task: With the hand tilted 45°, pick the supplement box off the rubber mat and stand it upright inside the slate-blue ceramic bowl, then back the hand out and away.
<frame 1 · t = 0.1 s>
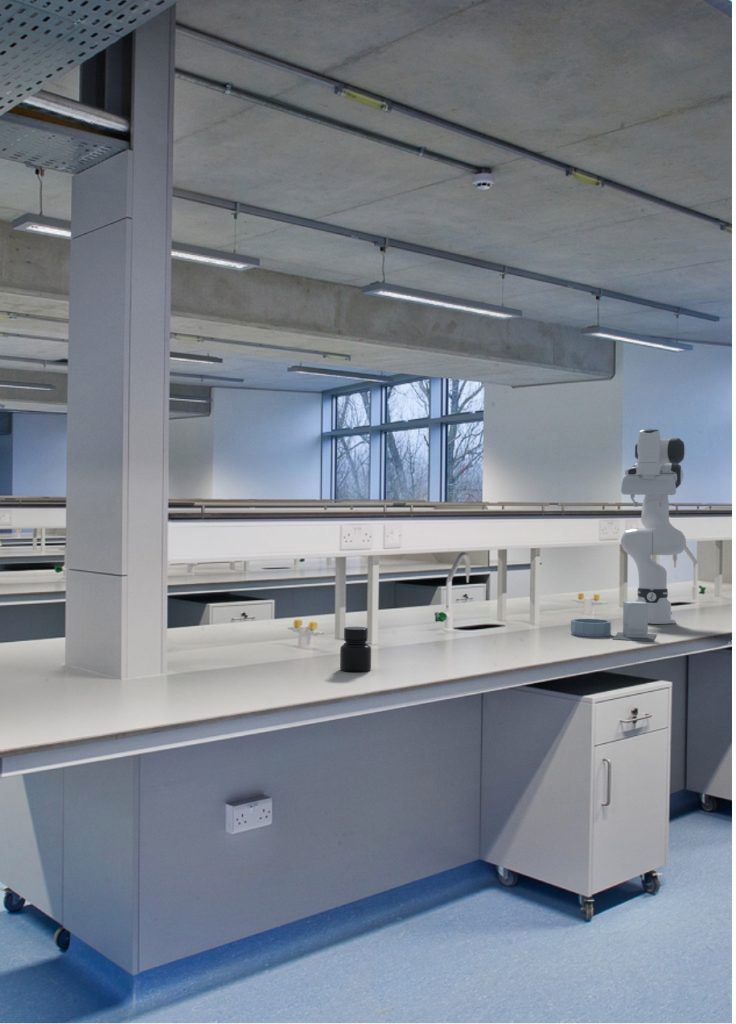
hand: (648, 506, 360), 48 cm above the worktop, tool pointing down, fingers open, 8 cm apart
ink bottle: (355, 670, 267), on the worktop
mat: (635, 637, 343), on the worktop
bowl: (590, 634, 349), on the worktop
supplement box: (635, 637, 343), resting on mat
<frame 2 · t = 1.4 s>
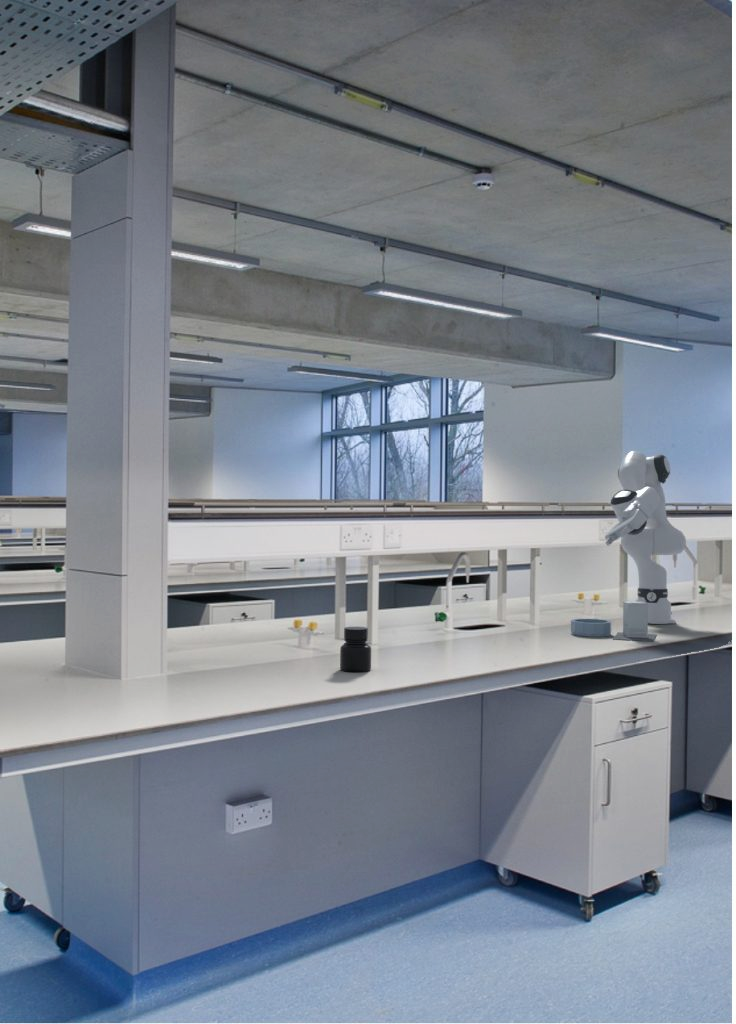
hand: (614, 539, 352), 35 cm above the worktop, tool tilted 55°, fingers open, 8 cm apart
nothing on the worktop moved.
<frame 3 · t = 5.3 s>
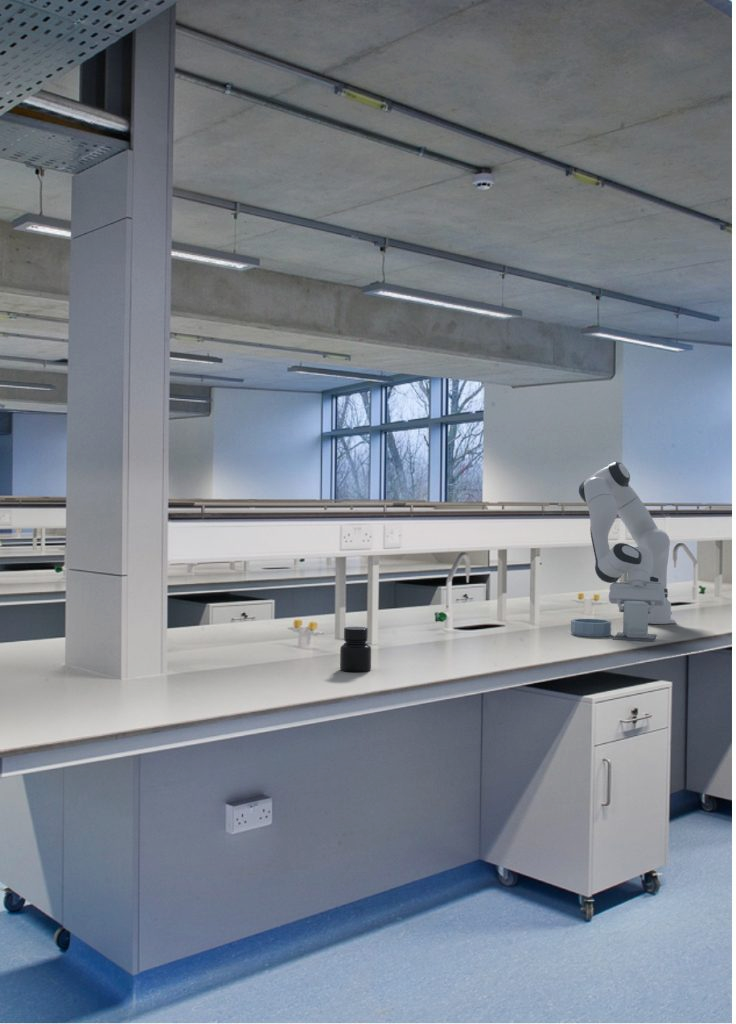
hand: (634, 611, 344), 9 cm above the worktop, tool tilted 45°, fingers open, 8 cm apart
supplement box: (635, 636, 343), resting on mat, touching gripper
everything else where it was.
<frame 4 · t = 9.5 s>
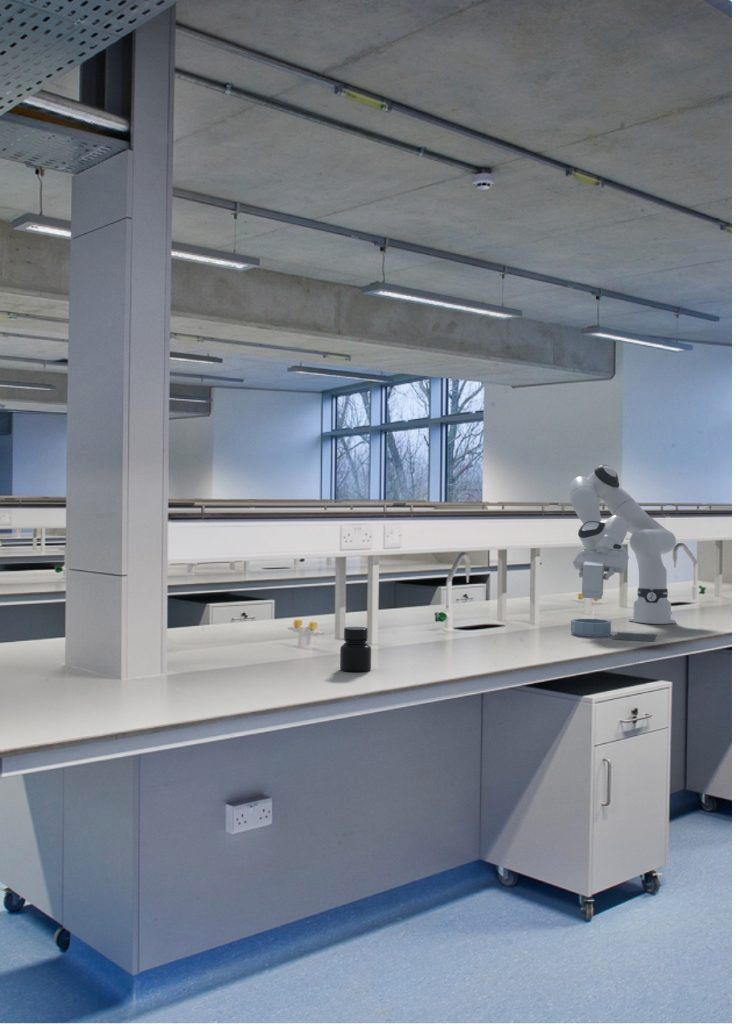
hand: (592, 577, 348), 21 cm above the worktop, tool tilted 45°, fingers closed on supplement box, 8 cm apart
supplement box: (592, 597, 349), point 14 cm above the worktop, touching gripper
everything else where it was.
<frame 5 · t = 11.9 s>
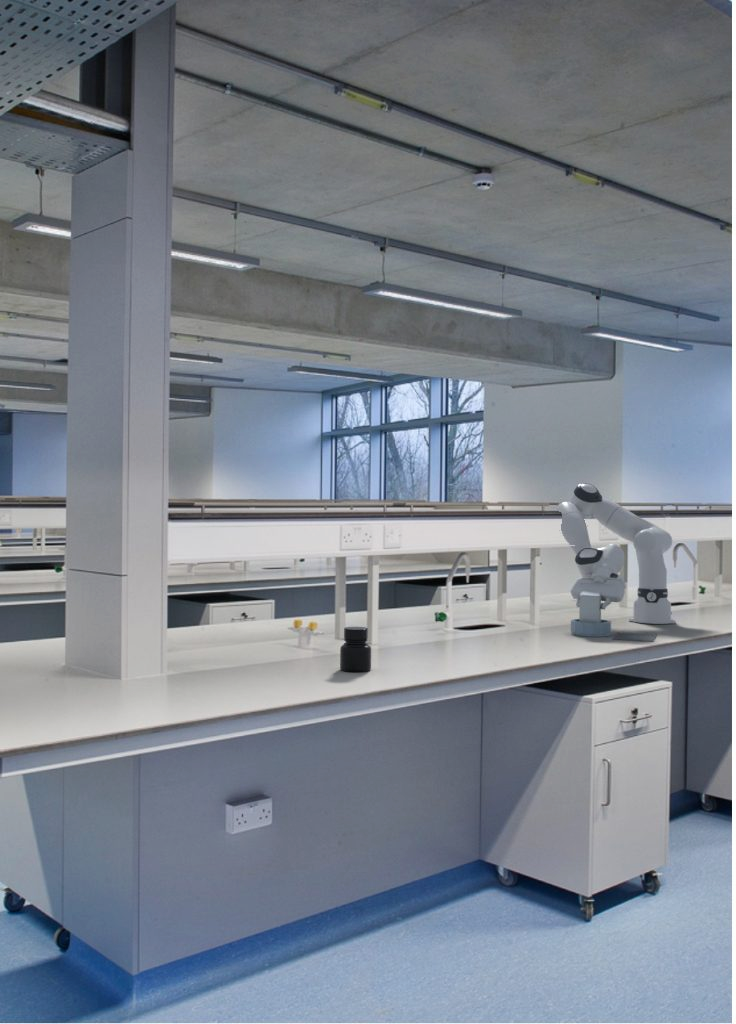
hand: (590, 607, 349), 10 cm above the worktop, tool tilted 45°, fingers closed on supplement box, 8 cm apart
supplement box: (590, 626, 349), point 3 cm above the worktop, touching gripper
everything else where it was.
when the fingers open (10 cm above the worktop, at t = 13.7 s): supplement box drops 2 cm, resting on bowl.
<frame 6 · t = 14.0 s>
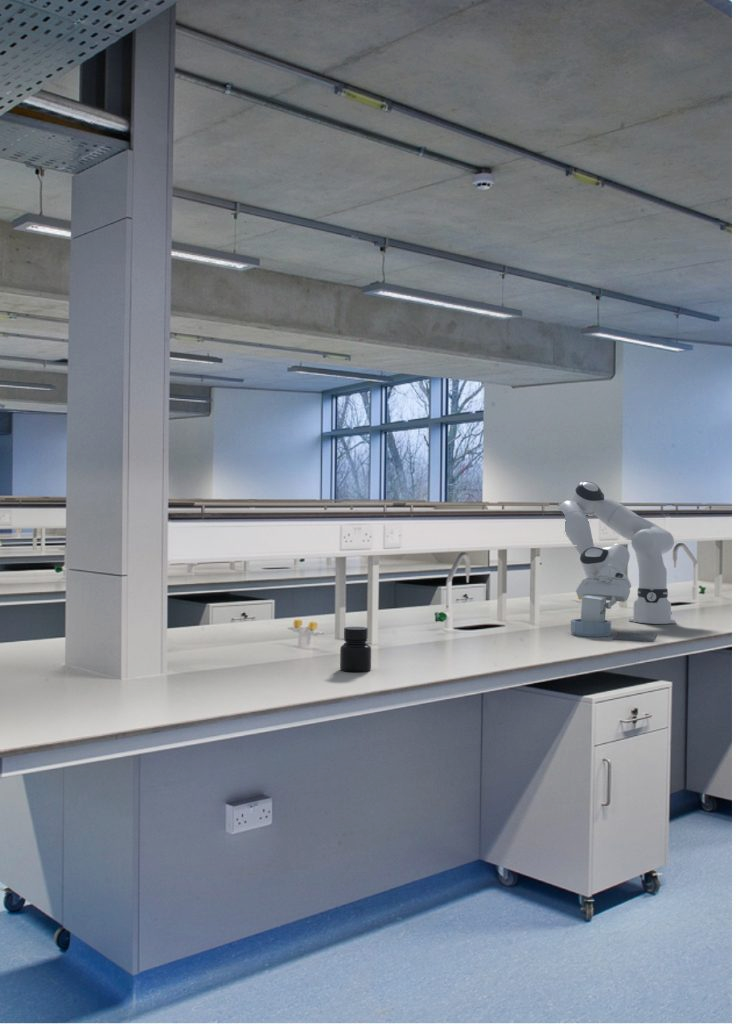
hand: (595, 606, 351), 10 cm above the worktop, tool tilted 45°, fingers open, 8 cm apart
supplement box: (592, 630, 350), point 1 cm above the worktop, touching bowl, gripper
everything else where it was.
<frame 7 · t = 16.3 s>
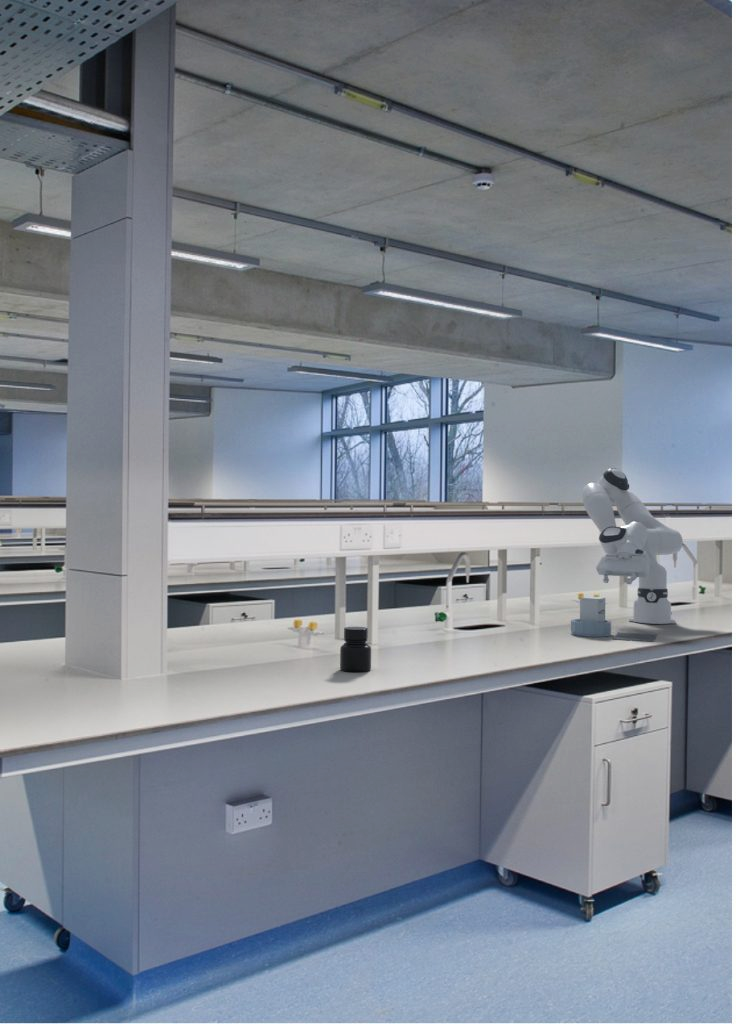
hand: (616, 582, 358), 19 cm above the worktop, tool tilted 45°, fingers open, 8 cm apart
supplement box: (592, 631, 350), point 1 cm above the worktop, touching bowl
everything else where it was.
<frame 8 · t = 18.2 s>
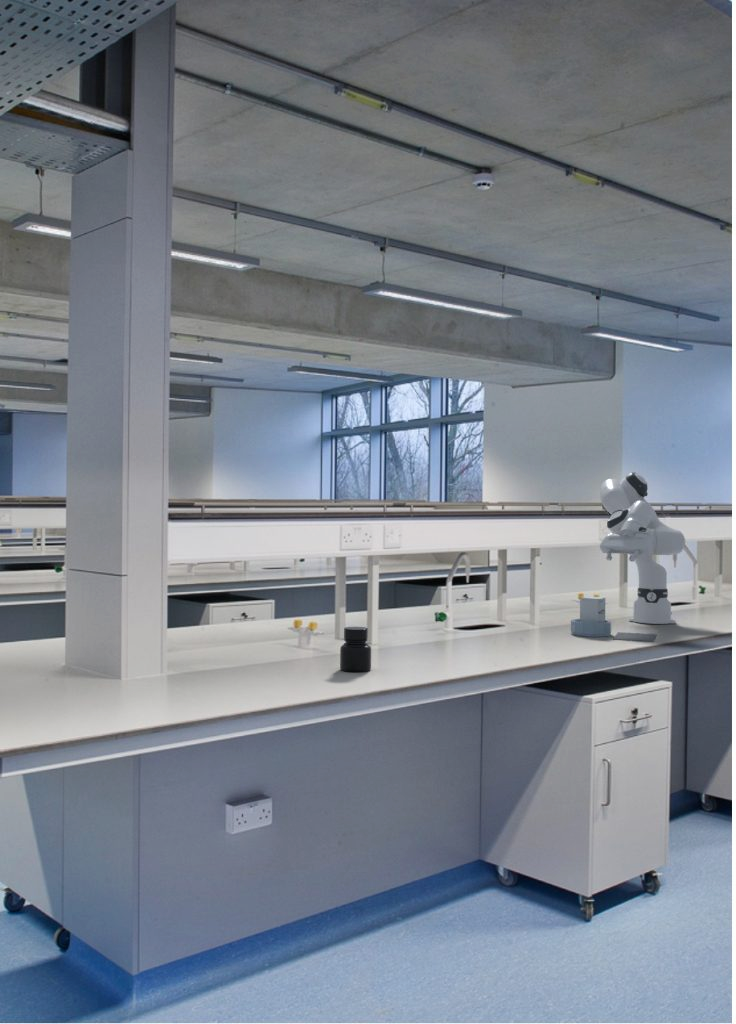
hand: (619, 559, 360), 27 cm above the worktop, tool tilted 45°, fingers open, 8 cm apart
nothing on the worktop moved.
at the end: supplement box 1.5 cm off-centre on the bowl, point 0.8 cm above the bowl's base; supplement box tilted 0°; the gripper is holding nothing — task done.
